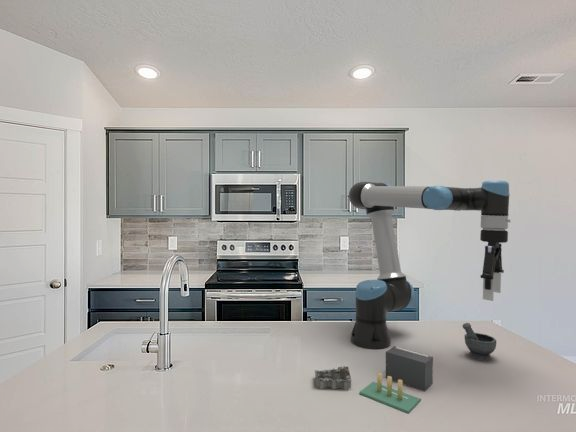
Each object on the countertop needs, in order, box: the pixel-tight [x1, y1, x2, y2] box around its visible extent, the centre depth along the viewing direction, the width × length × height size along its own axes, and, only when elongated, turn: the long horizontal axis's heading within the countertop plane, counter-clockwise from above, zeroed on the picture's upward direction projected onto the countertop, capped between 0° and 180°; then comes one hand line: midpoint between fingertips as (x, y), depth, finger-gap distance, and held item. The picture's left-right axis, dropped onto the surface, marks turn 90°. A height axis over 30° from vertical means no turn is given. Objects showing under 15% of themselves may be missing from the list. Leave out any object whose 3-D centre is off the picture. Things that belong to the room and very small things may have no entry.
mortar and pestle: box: [461, 322, 497, 361], centre depth 124 cm, size 11×9×12 cm
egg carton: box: [314, 365, 353, 390], centre depth 103 cm, size 11×8×4 cm
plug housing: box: [385, 345, 434, 392], centre depth 105 cm, size 12×6×8 cm, turn 48°
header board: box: [359, 372, 421, 414], centre depth 96 cm, size 14×8×6 cm, turn 48°
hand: (491, 295), depth 112 cm, fingers open, 13 cm apart
